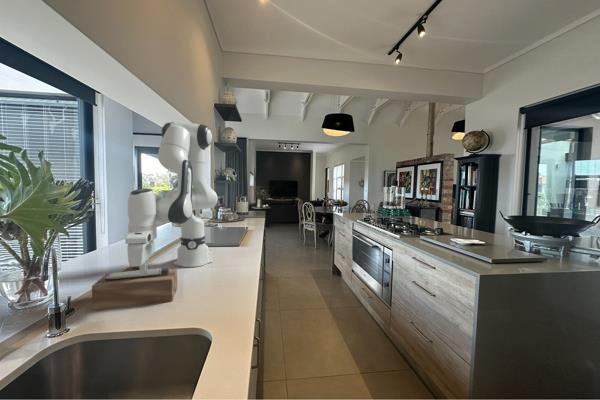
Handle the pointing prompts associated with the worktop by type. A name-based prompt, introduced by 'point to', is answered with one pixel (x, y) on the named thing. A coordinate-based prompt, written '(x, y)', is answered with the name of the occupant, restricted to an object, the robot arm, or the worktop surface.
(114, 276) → the latch bar
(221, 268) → the worktop surface
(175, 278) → the walnut case
